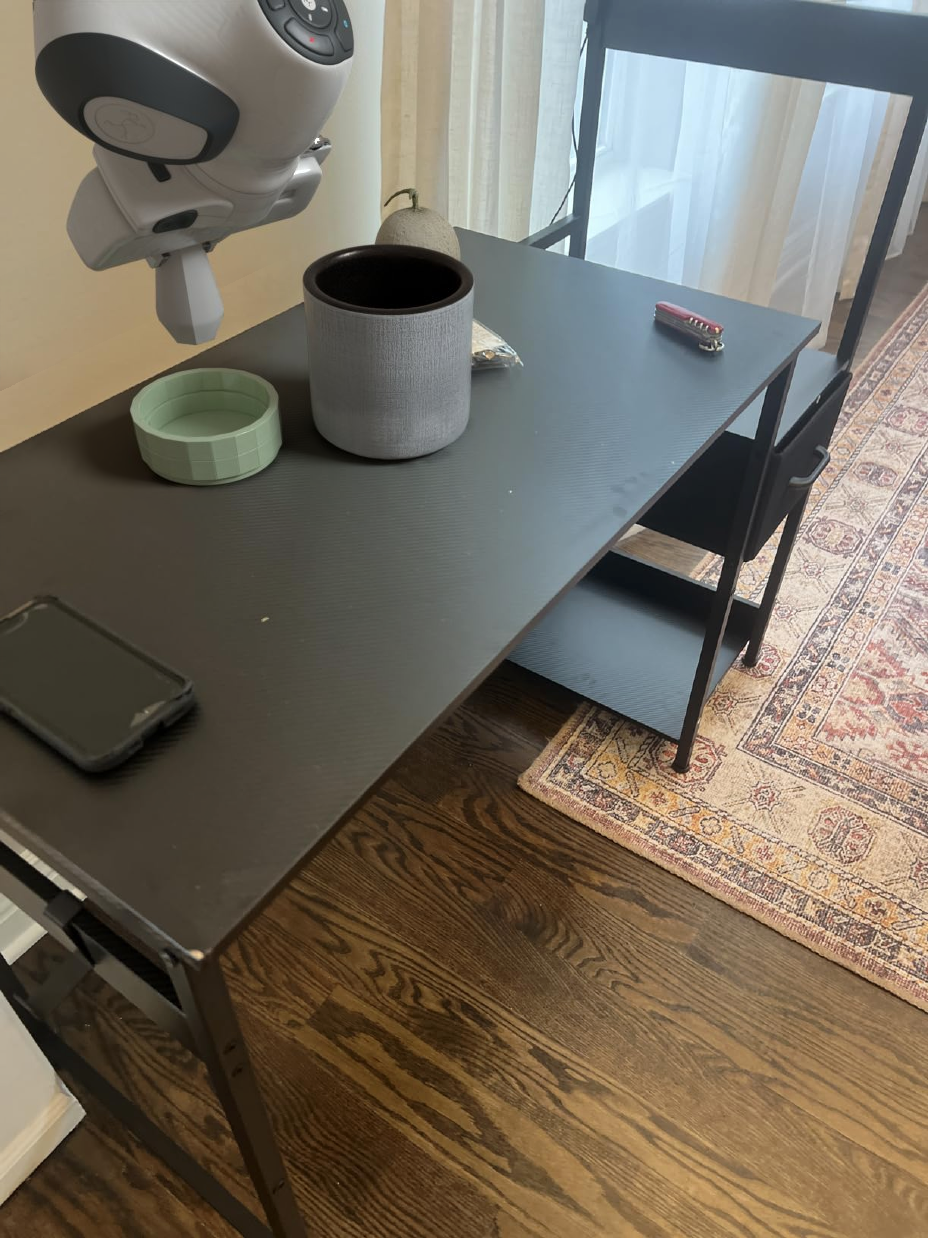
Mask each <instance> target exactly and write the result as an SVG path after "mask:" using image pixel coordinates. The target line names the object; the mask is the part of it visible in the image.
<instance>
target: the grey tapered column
mask: <svg viewBox="0 0 928 1238" xmlns="http://www.w3.org/2000/svg"><path fill="white" fill-rule="evenodd" d="M169 253H170V255H171V256H172V257H170V258H169V259H168V260H167V261H166V262H165V263H163V264H162V265H161V267H157V268H154V269H155V270H154V272H155V273H154V276H155V277H154V278H155V286H154V287H155V312H156V316H157V319H158V321H159V323H160V324H161V325H162V326H163V327H164V328H165V330H166V331H167V332H168V333H169V335H170V336H171V337H172V339H173V340H174V341H175V342H176V344H181V345H190V346H199V345H203V344H205V343H208V342H211V341H214V340H216V337H217V334H218V331H219V329H220V326H221V324H222V320H223V318H224V316H225V308H224V307H225V306H224V303H223V300H222V297H221V293H220V290H219V288H218V285H217V282H216V278H215V275H214V271H213V269H212V266H211V264H210V260H209V257H208V253H206V251H205V250H204V249H203V246H202V243H199V244H195V245H192V246H188V247H185V248H181V249H177V250H174V251H170V252H169Z"/></svg>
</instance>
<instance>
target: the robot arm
mask: <svg viewBox="0 0 928 1238" xmlns="http://www.w3.org/2000/svg"><path fill="white" fill-rule="evenodd" d="M32 25H33V26H32V27H33V46H34V47H33V49H34V51H33V52H34V63H35V65H34V74H35V80H36V83H37V86H38V88H39V90H40V92H41V94H42V95H43V97H44V98H45V100H46V101H47V103H48V104H49V105H50V106H51V108H52V109H53V110H54V111H55V113H56V114H58V115H59V117H60V118H61V119H63V120H64V121H65V123H67V124H68V125H69V126H70V127H71V128H73V129H74V130H76V131H77V132H78V133H79V134H81V135H82V136H83V137H85V138H87V139H88V140H90V141H91V142H93V143H94V144H93V146H92V156H93V159H94V161H95V164H96V166H95V167H93V168H92V169H90V171H89V172H88V173H87V174H86V175H85V176H84V177H83V179H82V180H81V181H80V184H79V185H78V188H77V190H76V192H75V194H74V197H73V199H72V202H71V204H70V209H69V211H68V215H67V218H66V224H65V228H66V233H67V235H68V238H69V240H70V242H71V244H72V246H73V248H74V250H75V251H76V253H77V255H78V256H79V258H80V260H81V261H82V263H83V264H84V265H85V266H86V267H87V268H88V269H90V270H91V271H93V272H104V271H106V270H109V269H113V268H117V267H121V266H123V265H127V264H131V263H135V262H137V261H141V260H142V261H143V260H145V261H146V263H147V265H148V266H149V268H150V269H151V270H154V269H155V268H157V267H161V265H162V264H163V263H165V262H166V261H167V260H168V259H169V258H170V257H172V256H171V255H170V253H169V252H170V251H174V250H177V249H181V248H185V247H188V246H192V245H195V244H199V243H202V246H203V249H204V250H205V251H206V254H208V253H212V252H214V249H215V248H216V247H217V244H219V243H221V242H223V241H224V240H225V239H227V238H228V237H230V236H232V235H233V234H237V233H242V232H244V231H249V230H251V229H256V228H259V227H263V226H267V225H270V224H273V223H276V222H277V223H278V222H281V221H284V220H288V219H291V218H294V217H296V216H298V215H299V214H301V213H302V212H303V211H305V210H306V209H307V207H308V206H309V205H310V203H311V202H312V200H313V198H314V197H315V194H316V193H317V190H318V188H319V187H320V184H321V182H322V179H323V171H322V168H321V165H322V164H323V163H324V162H325V160H326V159H327V158H328V156H329V155H330V154H331V151H332V148H333V147H332V143H331V140H330V139H329V138H328V137H324V136H323V135H322V134H321V133H322V132H323V130H324V129H325V127H326V125H327V124H328V121H330V118H331V117H332V115H333V113H334V111H335V109H336V108H337V105H338V103H339V102H340V99H341V97H342V94H343V92H344V90H345V88H346V86H347V84H348V83H347V82H348V81H349V77H350V74H351V72H352V71H351V70H352V68H353V64H354V59H355V37H354V31H353V30H354V29H353V25H352V20H351V17H350V14H349V11H348V8H347V6H346V3H345V2H344V0H32Z"/></svg>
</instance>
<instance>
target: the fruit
mask: <svg viewBox="0 0 928 1238" xmlns="http://www.w3.org/2000/svg"><path fill="white" fill-rule="evenodd" d="M403 194H408V200H410V201H411V202H412V206H408V207H404V208H401V209H397V210H395V211H393V212H391V213H390V214H389V215H388V216H387V217H386V218H385V219H384V220H383V222H382V223H381V224H380V227H379V229H378V231H377V233H376V236H375V241H374V244H401V245H411V246H418V247H423V248H428V249H432V250H435V251H439V252H441V253H444V254H447V255H449V256H451V257H453V258H455V259H457V260H459V261H460V262H461V248H460V243H459V239H458V236H457V232H456V231H455V229H454V227H453V225H452V224H451V222H450V221H449V220H448V219H447V218H446V217H445V216H444V215H443V214H441V213H439V212H437V211H435V210H434V209H431V208H428V207H426V206H420V205H419V191H418V190H417V189H415V188H412V187H409V188H403V189H400V190H398V191H396V192H394V193H393V194H392V195H391V196H390V197H389V198H388V199H387V200H386V202H385V203H384V205H383V208H385V207H388V205H389V203H390V202H391V201H392V200H393V199H394V198H396V197H399V196H400V195H403Z"/></svg>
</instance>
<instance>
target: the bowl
mask: <svg viewBox="0 0 928 1238" xmlns="http://www.w3.org/2000/svg"><path fill="white" fill-rule="evenodd" d="M129 412H130V413H129V414H130V418H131V422H132V426H133V430H134V435H135V438H136V443H137V447H138V451H139V453H140V456H141V459H142V461H144V462H145V463H146V464H147V466H148V467H149V468H150V469H151V471H153V472H154V473H155V474H157V475H158V476H159V477H161V478H164V479H166V480H168V481H171V482H174V483H178V484H182V485H191V486H217V485H218V486H219V485H223V484H230V483H233V482H238V481H241V480H244V479H246V478H249V477H251V476H254V475H255V474H257V473H259V472H261V471H262V470H264V469H265V468H267V467H268V466H269V465H270V464H271V463H272V462H273V461H274V460H275V459H276V457H277V456H278V453H279V451H280V448H281V446H282V445H283V434H284V433H283V423H282V415H281V406H280V397H279V394H278V392H277V390H276V389H275V387H274V386H273V384H271V383H270V382H269V381H268V380H266V379H265V378H263V377H262V376H260V375H258V374H254V373H251V372H249V371H245V370H242V369H234V368H228V367H199V368H193V369H186V370H181V371H178V372H174V373H171V374H168V375H165V376H163V377H160V378H158V379H156V380H154V381H152V382H151V383H149V384H147V385H146V386H144V387H143V388H142V389H140V390H139V392H138V393H136V395H135V396H134V397H133V399H132V402H131V405H130V408H129Z"/></svg>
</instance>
